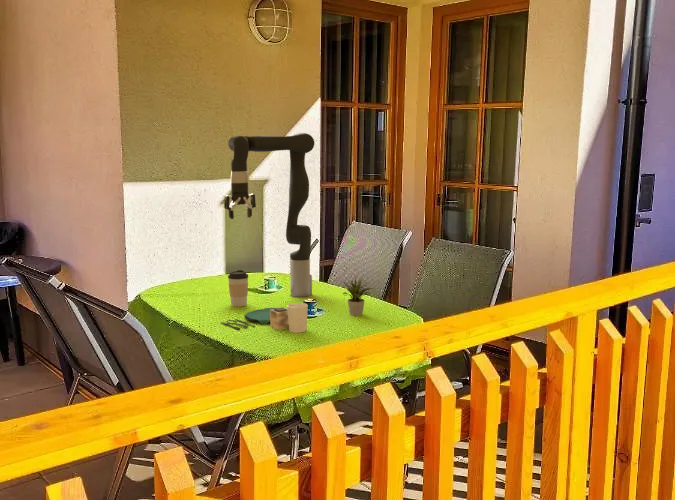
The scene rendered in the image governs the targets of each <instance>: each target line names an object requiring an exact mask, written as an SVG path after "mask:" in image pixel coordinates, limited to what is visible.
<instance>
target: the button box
mask: <svg viewBox="0 0 675 500" xmlns="http://www.w3.org/2000/svg"><path fill="white" fill-rule="evenodd" d="M269 326H270V327H271V328H272V329H275V330H277V331H279V330H280V331H281V330H286V329H289V324H288V311H283V312H277V311H274V309H272V310H270V325H269Z"/></svg>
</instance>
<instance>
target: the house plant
mask: <svg viewBox="0 0 675 500" xmlns="http://www.w3.org/2000/svg"><path fill="white" fill-rule="evenodd" d="M363 280H364V278H360V279H359V280H358V282H357V277H355V278H354V282H353V281H352V280H349V282H350V285H351V286H350V285H349V284H348V282H347V281H341V283H343V284H344V285H345V286H346V287H347V288H346V289H345V290H346V291H348V292H343V293H342V295H343V297H344V296H346V295H348V296H349V297H350V298H348V299H347V304H348V309H349V315H350V317H351V316H352V317H360V316H363V311H364V307H365V299H364V298H362V297H364V296H370V295H372V293H371V292H370V290H373V289H374V288H373V287H372V288H371V287H366V286H367V285H368V284H369V283H371V280H370V281H367V282H366V283H365V284H362V283H363ZM364 287H366V288H364Z"/></svg>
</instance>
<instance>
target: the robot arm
mask: <svg viewBox="0 0 675 500" xmlns="http://www.w3.org/2000/svg"><path fill="white" fill-rule="evenodd" d="M227 146H228V148H229V150H230V151H231V152H233V158H232V159H231V160H230V170H231V172H230V192H231V194H230V195H224V201H223V202H224V206H223V207H224V209H225V210H227V211H228V217H229V219H230V220H234V217H235V215H234V209H235V208H236V206H240V205H245V207H246V208H247V209H246V210H247V212H246V216H247V218H249V219H250V218H252V216H253V209H254V208H256V207H257V205H256V204H257V203H256V195H255V194H254V193H250V194H249V175H248V158H249V152H255V153H256V152H257V153H258V152H259V153H260V152H261V153H262V152H264V153H265V152H278V151H289V158H290V159H289V161H290V162H289V184H288V185H289V186H288V212H287V221H286V230H285V238H286V239H285V240H286V241H287V244H289V245H299V248H298V249H297V250H295V251H292V252H291V253H289V268H290V270H289V271H290V273H289V274H290V277H289V278H290V296H291V297H295V298H296V297H298V298H302V297H303V298H305V297H308V296H309V297H310V296H311V295H312V296H313V277H312V274H311V261H310V260H311V250H312V249H311V248H312V247H311V246H312V229H311V228H310V226H309V225H307V224H306V225H305V224H298V221H299V220H298V219H299V215H300V213H301V211H302V209H303V208H304V207H305V204H306V203H307V201H308V199H309V196H310V195H309V194H310V179H309V176H308V173H307V170H306V164H305V163H306V162H305V159H306V154H308V153H309V152H311V151H312V150H313V149H314V147H315V140H314V137H313V136H312V135H311V134H310V133H307V132H306V133H305V132H300V133H296V134H293V135H289V136H288V135H287V136H286V135H285V136H284V135H282V136H281V135H280V136H279V135H277V136H275V135H253V136H247V135H246V136H245V135H244V136H243V135H233V136H231V137H230V138H229V140H228V141H227ZM249 199H250V201H249ZM231 200H232V201H231ZM230 201H231V202H230Z"/></svg>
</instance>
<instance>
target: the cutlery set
mask: <svg viewBox="0 0 675 500" xmlns="http://www.w3.org/2000/svg"><path fill="white" fill-rule="evenodd" d="M275 308H276V307H265V308H262V309H255V310H252V311H248V312H246V313H245V315H244V318H246V319H247V320H248V321H253V322H256V323H257V322H258V323H260V324H261V325H267V324H268V323H269V322H270V310H272V309H275ZM236 320H237V321H236ZM228 321H233V322H228ZM248 321H244V320H241V319H238V318H234V320H233V319H228V320H226V322H224V321H222V322H220V324H221V325H223V326H225V325H226V326H227V327H228V326H229V328H231V329H235V330H238V331H240V330H241V327H244V328H245V329H248V328H249V326H251V327H253V328H255V327H256V326H255V325H253V324H251V323H249V322H248ZM238 322H240V323H238ZM234 325H235V326H234ZM236 325H238V326H236ZM240 326H241V327H240Z"/></svg>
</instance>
